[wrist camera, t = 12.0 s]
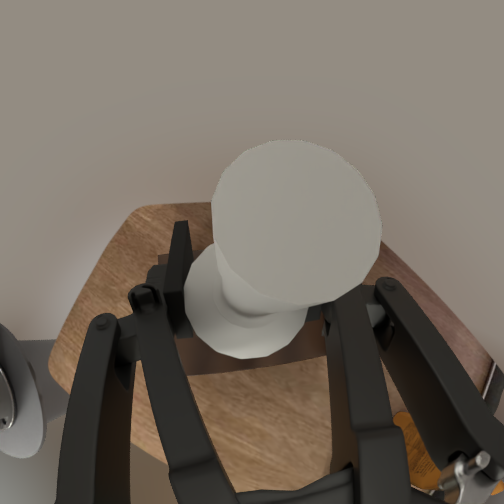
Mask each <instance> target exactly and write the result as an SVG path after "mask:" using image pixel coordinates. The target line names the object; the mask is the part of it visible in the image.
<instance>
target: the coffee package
mask: <svg viewBox="0 0 504 504" xmlns="http://www.w3.org/2000/svg"><path fill="white" fill-rule="evenodd" d="M393 422H394V424H395V425H397V426H400V427H401V429H402V430H403V434H404V438H405V445H406V451H407V458H408V466H409V474H410V483H411V484H412V485H414V486H416V487H418V488H420V489H429V490H443V489H440V488H439V487H438V485H437V481H438V479H439V477H440V475H441V472H440V470H439V469H438V468H437V467H436V465H435V464H434V462H433V461H432V459H431V458H430V456H429V454H428V452H427V450H426V448H425V445H424V443H423V441H422V439H421V437H420V435H419V432H418V430H417V428H416V426H415V424H414V422H413V420H412V418H411V416H410V413H407V412H398V413H397V414H396V415H395V416H394V418H393ZM503 489H504V483H503V482H502V480H501V481H500V482H499V483H498V484H497V486H496V487H495V489H494V490H493V492H492V493H491V494H492V495H495V494H497V493H499V492H501V491H503Z"/></svg>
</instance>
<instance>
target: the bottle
mask: <svg viewBox="0 0 504 504" xmlns="http://www.w3.org/2000/svg"><path fill="white" fill-rule="evenodd" d="M211 205H212V224H213V238H214V243H213V244H211V245H209V246H208V247H207V248H206V249H205V250H204V251H203V252H202V253H201V254H200V256H199V257H198V258H197V259H196V260H195V261H194V262H193V263H192V265H191V268H190V271H189V274H188V276H187V279H186V282H185V285H184V300H185V313H186V315H187V317H188V319H189V321H190V323H191V325H192V327H193V329H194V331H195V332H196V334H197V336H198V337H200V338H201V339H202V340H203V341H204V342H206V343H207V344H208V345H209V346H210V347H212V348H213V349H214V350H215V351H216V352H219V353H222V354H226V355H229V356H232V357H235V358H239V359H248V358H258V357H266V356H268V355H270V354H272V353H274V352H276V351H277V350H279V349H281V348H283V347H285V346H286V345H288V344H289V343H290V342H291V341H292V339H293V338H294V337H295V335H296V334H297V333H298V332H299V330H300V329H301V328H302V326H303V325H304V322H305V319H306V315H307V311H308V308H309V307H311V306H315V305H319V304H323V303H327V302H330V301H334V300H336V299H337V298H339V297H340V296H342V295H343V294H345V293H347V292H348V291H350V290H351V289H353V288H354V287H356V286H357V285H359V284H361V283H362V282H363V280H364V278H365V277H366V275H367V274H368V272H369V271H370V269H371V267H372V266H373V264H374V262H375V261H376V259H377V257H378V255H379V248H380V241H381V234H382V221H381V217H380V213H379V209H378V205H377V201H376V197H375V195H374V193H373V192H372V191H371V189H370V187H369V186H368V185H367V183H366V181H365V180H364V178H363V177H362V175H361V174H360V172H359V171H358V170H357V169H356V168H355V167H354V166H352V165H351V164H350V163H348V162H347V161H346V160H345V159H343V158H342V157H341V156H339V155H338V154H337V153H335V152H334V151H332V150H330V149H327V148H324V147H321V146H319V145H316V144H313V143H310V142H307V141H301V140H296V141H295V140H273V141H270V142H268V143H265V144H262V145H259V146H256V147H254V148H251V149H248V150H246V151H245V152H243V153H242V154H241V155H240V156H239V157H238V158H237V159H236V160H235V161H234V162H233V163H232V164H230V165H229V166H228V167H227V168H226V169H225V170H224V171H223V173H222V176H221V178H220V180H219V183H218V186H217V188H216V191H215V193H214V195H213V198H212V200H211Z"/></svg>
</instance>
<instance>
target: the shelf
mask: <svg viewBox="0 0 504 504" xmlns="http://www.w3.org/2000/svg"><path fill="white" fill-rule="evenodd" d="M203 251H204V250H197V251H193V257H194V261H195V260H196V259H197V258H198V257H199V256H200V254H201V253H202V252H203ZM168 257H169V254H163V255H158V265H161V264H167V263H168ZM361 285H362V283H361ZM324 319H325V317H324V315H323V313H322V311H321V316H320V320H315V321H309V322H304V325H303V326H302V328H301V329H300V330H299V332H298V333H297V334H296V335H295V337H294V338H293V339H292V341H291V342H290V343H289V344H288V345H286V346H285V347H283V348H281V349H279V350H277V351H276V352H274V353H272V354H270V355H268V356H266V357H258V358H248V359H239V358H235V357H232V356H229V355H226V354H222V353H219V352H216V351H215V350H214V349H213V348H212V347H210V346H209V345H208V344H207V343H206V342H204V341H203V340H202V339H201V338H200V337H198V336H197V334H196V332H195V331H194V329H193V338H183V339H177V338H176V335H175V336H174V340H175V343H176V346H177V349H178V352H179V355H180V358H181V361H182V364H183V367H184V370H185V373H186V376H194V375H205V374H215V373H224V372H233V371H241V370H248V369H255V368H261V367H268V366H274V365H280V364H285V363H291V362H296V361H301V360H306V359H311V358H316V357H320V356H325V355H326V345H325V335H324V336H321V335H322V329H323V324H324Z"/></svg>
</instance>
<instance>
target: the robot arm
mask: <svg viewBox="0 0 504 504" xmlns="http://www.w3.org/2000/svg"><path fill="white" fill-rule="evenodd" d="M193 262H194V257H193V251H192V245H191V239H190V233H189V226H188V220H186V221H178V222H175V224H174V229H173V235H172V240H171V246H170V251H169V257H168V263H167V264H161V265H153V266H152V268H151V269H150V270H149V271H148V274H147V279H146V283H144V284H140V285H137V286H135V287H134V288H132V289H131V290H130V292H129V293H128V300H129V302H130V305H131V307H132V310H133V313H132V314H131V315H128V316H126V317H123V318H120V319H117V318H116V317H115V315H113V314H111V313H103V314H100V315H98V316H96V317H95V318H94V319H93V320H92V321H91V323H90V325H89V328H88V331H87V334H86V337H85V340H84V344H83V347H82V351H81V354H80V358H79V361H78V365H77V369H76V373H75V377H74V381H73V385H72V389H71V394H70V398H69V403H68V408H67V413H66V418H65V424H64V430H63V436H62V443H61V450H60V458H59V467H58V479H57V494H56V495H57V496H56V501H55V503H54V504H131V503H130V434H131V415H132V401H133V389H134V379H135V369H136V361H139V360H141V362H142V367H143V372H144V377H145V381H146V386H147V390H148V395H149V399H150V403H151V407H152V411H153V415H154V419H155V422H156V426H157V430H158V433H159V436H160V440H161V443H162V446H163V450H164V453H165V456H166V459H167V462H168V465H169V480H170V483H171V486H172V489H173V491H174V494H175V497H176V499H177V502H178V504H484V503H485V502H486V500H487V499H488V498H489V496H490V495H491V493H492V492H493V490H494V489H495V487H496V486H497V484H498V483H499V482H500V481H501V480H502V479H503V478H504V425H503V424H502V423H501V422H499V421H498V420H497V419H496V418H495V417H494V416H493V415H492V413H491V412H490V410H489V408H488V406H487V405H486V403H485V401H484V400H483V398H482V396H481V395H480V393H479V391H478V390H477V388H476V386H475V385H474V383H473V382H472V380H471V378H470V377H469V375H468V374H467V372H466V371H465V369H464V368H463V366H462V365H461V363H460V362H459V360H458V359H457V357H456V356H455V354H454V353H453V351H452V350H451V348H450V347H449V346H448V344H447V343H446V341H445V340H444V339H443V337H442V336H441V334H440V333H439V332H438V330H437V329H436V328H435V326H434V325H433V324H432V322H431V321H430V320H429V318H428V317H427V316H426V314H425V313H424V312H423V310H422V309H421V308H420V307H419V305H418V304H417V303H416V301H415V300H414V299H413V298H412V296H411V295H410V294H409V293H408V291H407V290H406V289H405V288H404V287H403V285H402V284H401V283H400V282H399V281H398V280H396V279H394V278H391V277H381V278H379V279H378V280H377V281H376V284H375V286H374V285H361V284H359V285H357V286H356V287H354V288H353V289H351V290H350V291H348V292H347V293H345V294H343V295H342V296H340V297H339V298H337V299H336V300H334V301H330V302H327V303H323V304H319V305H315V306H311V307H309V308H308V311H307V315H306V319H305V322H309V321H315V320H320V316H321V311H322V313H323V315H324V317H325V319H324V324H323V329H322V335H321V336H324V335H325V345H326V355H327V366H328V378H329V392H330V408H331V427H332V460H331V464H330V474H329V475H326V476H325V477H323V478H321V479H319V480H317V481H315V482H313V483H311V484H309V485H307V486H305V487H303V488H301V489H299V490H295V491H283V490H255V491H247V492H239V493H236V491H235V489H234V487H233V485H232V483H231V482H230V480H229V478H228V476H227V474H226V472H225V469H224V467H223V465H222V463H221V461H220V459H219V456H218V454H217V452H216V450H215V447H214V445H213V443H212V441H211V438H210V436H209V433H208V431H207V429H206V426H205V424H204V421H203V419H202V416H201V414H200V411H199V409H198V406H197V403H196V401H195V398H194V395H193V393H192V390H191V387H190V384H189V382H188V379H187V376H186V373H185V370H184V367H183V364H182V361H181V358H180V355H179V352H178V349H177V346H176V343H175V340H174V336H175V335H176V338H177V339H183V338H193V327H192V325H191V323H190V321H189V319H188V317H187V315H186V313H185V300H184V285H185V282H186V279H187V276H188V274H189V271H190V268H191V265H192V263H193ZM379 355H380V356H379ZM380 357H381V359H382V361H383V363H384V365H385V366H386V368H387V370H388V372H389V374H390V376H391V378H392V380H393V382H394V384H395V386H396V387H397V389H398V391H399V393H400V395H401V397H402V399H403V401H404V403H405V405H406V407H407V409H408V411H409V413H410V416H411V418H412V420H413V422H414V424H415V426H416V428H417V430H418V432H419V435H420V437H421V439H422V441H423V443H424V445H425V448H426V450H427V452H428V454H429V456H430V458H431V459H432V461H433V462H434V464H435V465H436V467H437V468H438V469H439V470H440V472H441V475H440V477H439V479H438V481H437V485H438V487H439V488H440V489H443V490H444V492H445V500H444V501H442V500H440V499H438V498H435V497H433V496H431V495H428V494H426V493H424V492H422V491H419V490H417V489H415V488H413V487H411V483H410V474H409V466H408V458H407V451H406V445H405V438H404V434H403V430H402V429H401V427H400V426H397V425H395V424H394V422H393V418H392V412H391V407H390V401H389V396H388V391H387V386H386V382H385V377H384V373H383V368H382V364H381V360H380ZM16 418H17V403H16V397H15V393H14V390H13V387H12V384H11V381H10V379H9V377H8V375H7V373H6V371H5V369H4V368H3V366H2V365H1V363H0V431H1V430H6V429H9V428H11V427H12V426H13V425H14V424H15V421H16Z"/></svg>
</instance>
